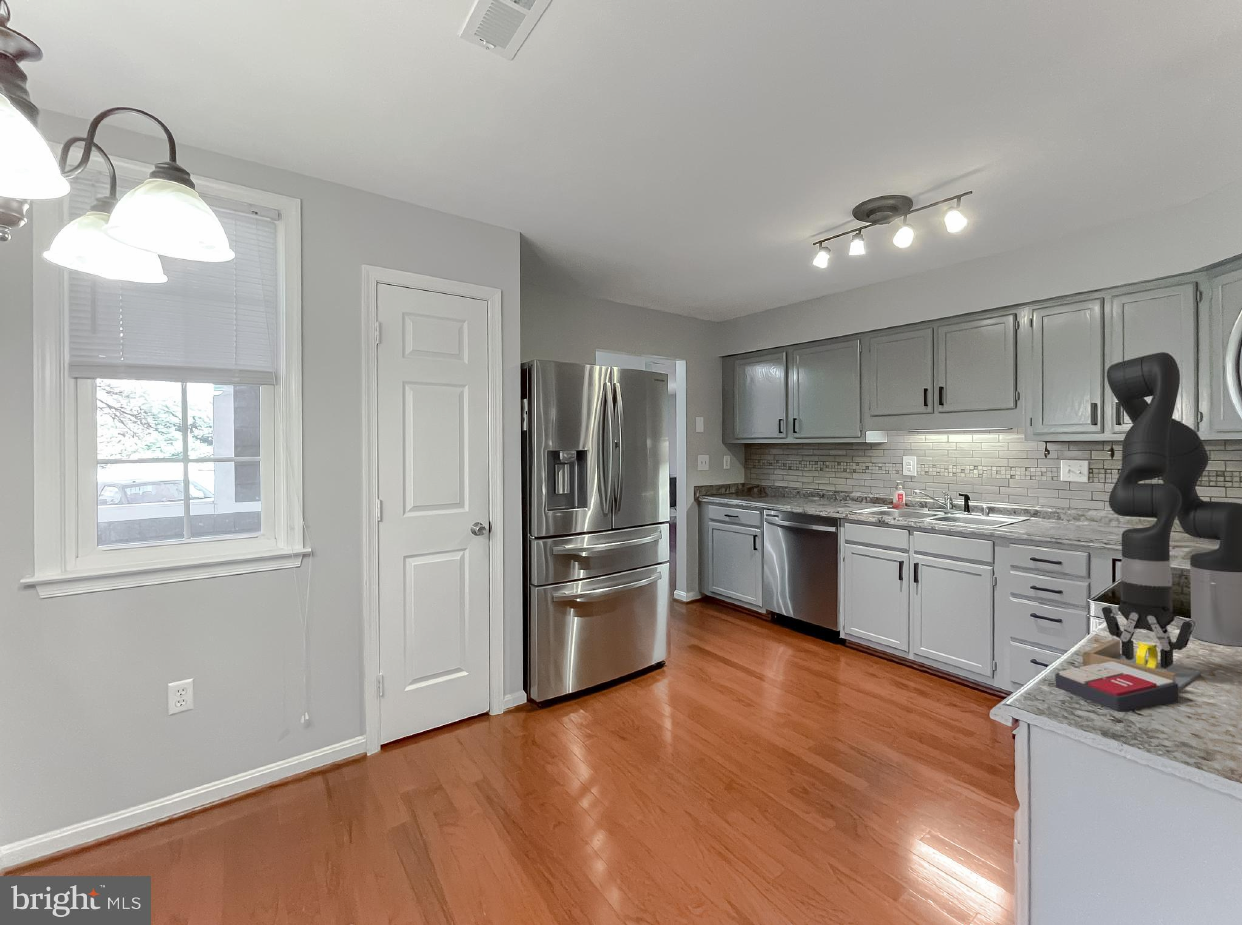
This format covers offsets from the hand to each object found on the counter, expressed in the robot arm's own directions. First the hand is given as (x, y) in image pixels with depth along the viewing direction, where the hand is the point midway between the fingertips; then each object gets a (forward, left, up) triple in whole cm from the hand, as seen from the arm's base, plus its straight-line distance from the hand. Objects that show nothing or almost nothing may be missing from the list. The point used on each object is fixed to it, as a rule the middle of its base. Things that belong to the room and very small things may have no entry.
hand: (1147, 662), depth 109 cm
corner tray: (0, -1, -2) cm, 3 cm away
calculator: (+17, 0, -3) cm, 17 cm away
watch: (0, 0, -2) cm, 2 cm away
